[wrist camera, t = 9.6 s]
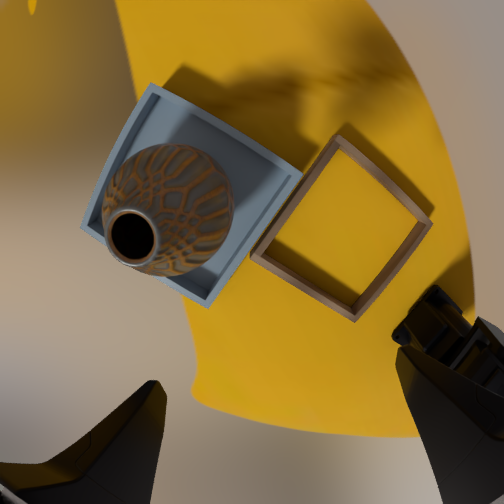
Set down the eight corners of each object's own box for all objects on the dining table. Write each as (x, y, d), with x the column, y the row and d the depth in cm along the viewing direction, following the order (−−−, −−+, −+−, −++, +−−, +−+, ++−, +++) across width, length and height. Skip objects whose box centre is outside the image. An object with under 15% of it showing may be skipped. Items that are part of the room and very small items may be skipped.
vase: (146, 136, 16) (67, 134, 8) (249, 155, 17) (245, 160, 8) (132, 234, 18) (63, 292, 10) (225, 255, 19) (206, 335, 11)
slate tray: (298, 171, 17) (303, 174, 16) (211, 295, 21) (207, 308, 19) (160, 88, 15) (150, 82, 13) (93, 220, 19) (80, 227, 17)
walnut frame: (425, 219, 18) (433, 223, 17) (350, 314, 21) (354, 322, 20) (333, 134, 16) (338, 134, 15) (249, 252, 19) (249, 258, 18)
